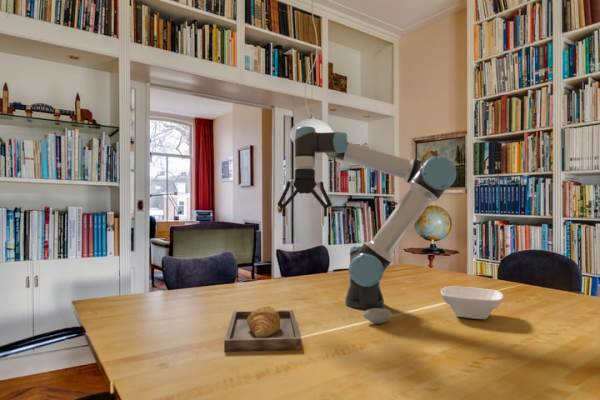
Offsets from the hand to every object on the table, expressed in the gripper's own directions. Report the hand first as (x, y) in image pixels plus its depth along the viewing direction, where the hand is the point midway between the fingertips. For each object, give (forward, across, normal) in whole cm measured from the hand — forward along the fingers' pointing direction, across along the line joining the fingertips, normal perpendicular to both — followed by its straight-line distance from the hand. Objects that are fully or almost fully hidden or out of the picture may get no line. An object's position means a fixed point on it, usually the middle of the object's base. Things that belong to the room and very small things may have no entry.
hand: (304, 225), depth 147 cm
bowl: (+32, -59, +11) cm, 68 cm away
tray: (+32, +15, +25) cm, 43 cm away
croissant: (+31, +15, +25) cm, 43 cm away
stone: (+32, -23, +17) cm, 43 cm away
